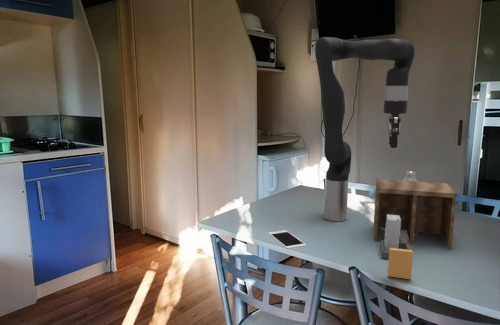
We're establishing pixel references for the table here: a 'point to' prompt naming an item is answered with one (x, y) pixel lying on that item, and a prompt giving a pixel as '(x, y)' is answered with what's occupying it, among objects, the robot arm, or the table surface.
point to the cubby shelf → (416, 207)
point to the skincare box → (392, 232)
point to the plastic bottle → (410, 176)
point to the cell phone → (287, 239)
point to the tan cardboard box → (398, 260)
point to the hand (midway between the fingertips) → (392, 146)
